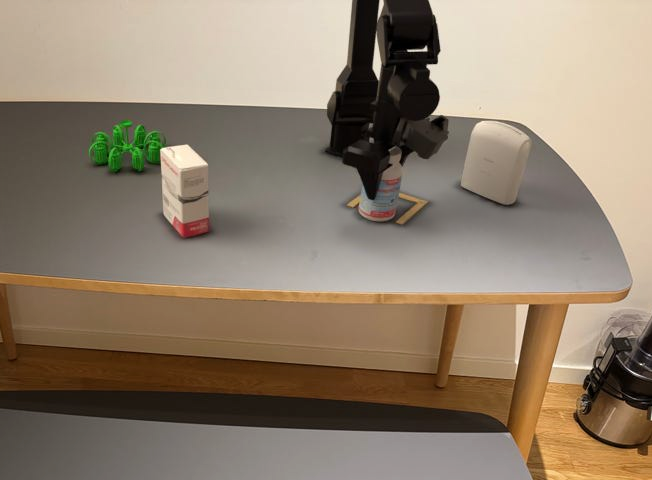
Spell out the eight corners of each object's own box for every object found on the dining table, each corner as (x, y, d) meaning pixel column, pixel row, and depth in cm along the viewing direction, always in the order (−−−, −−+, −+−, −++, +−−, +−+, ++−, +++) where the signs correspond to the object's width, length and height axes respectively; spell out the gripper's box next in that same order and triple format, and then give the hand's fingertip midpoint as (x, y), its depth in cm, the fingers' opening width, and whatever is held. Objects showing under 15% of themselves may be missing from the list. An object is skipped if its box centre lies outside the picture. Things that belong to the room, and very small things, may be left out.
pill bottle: (372, 226, 120) (382, 161, 113) (351, 209, 124) (359, 146, 117) (402, 217, 122) (414, 153, 115) (380, 202, 126) (390, 139, 119)
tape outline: (346, 205, 125) (346, 204, 125) (373, 185, 131) (373, 184, 131) (402, 224, 120) (402, 223, 120) (427, 202, 126) (427, 201, 126)
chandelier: (78, 150, 142) (74, 114, 137) (152, 136, 146) (149, 101, 142) (103, 182, 131) (98, 146, 127) (180, 167, 136) (179, 131, 132)
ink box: (211, 232, 118) (210, 163, 111) (182, 239, 117) (179, 169, 109) (189, 208, 124) (187, 141, 117) (162, 214, 123) (158, 147, 115)
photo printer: (455, 186, 131) (470, 118, 123) (470, 179, 133) (486, 112, 125) (505, 208, 124) (524, 138, 116) (520, 200, 127) (540, 131, 119)
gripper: (417, 127, 101) (398, 229, 111) (471, 92, 113) (450, 187, 122) (346, 108, 106) (334, 207, 116) (405, 77, 118) (390, 169, 128)
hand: (380, 192), depth 120 cm, fingers closed on pill bottle, 6 cm apart
